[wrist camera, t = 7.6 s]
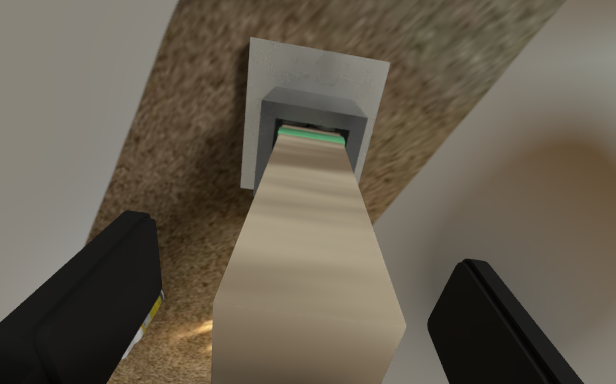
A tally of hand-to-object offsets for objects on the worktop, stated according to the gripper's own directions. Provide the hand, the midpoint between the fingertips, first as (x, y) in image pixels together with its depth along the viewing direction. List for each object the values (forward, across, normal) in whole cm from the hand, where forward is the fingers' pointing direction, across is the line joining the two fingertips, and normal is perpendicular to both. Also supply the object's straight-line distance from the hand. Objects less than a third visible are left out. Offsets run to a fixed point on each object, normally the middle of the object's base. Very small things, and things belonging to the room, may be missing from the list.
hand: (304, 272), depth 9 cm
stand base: (+22, 0, +1) cm, 22 cm away
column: (+13, 0, +1) cm, 13 cm away
